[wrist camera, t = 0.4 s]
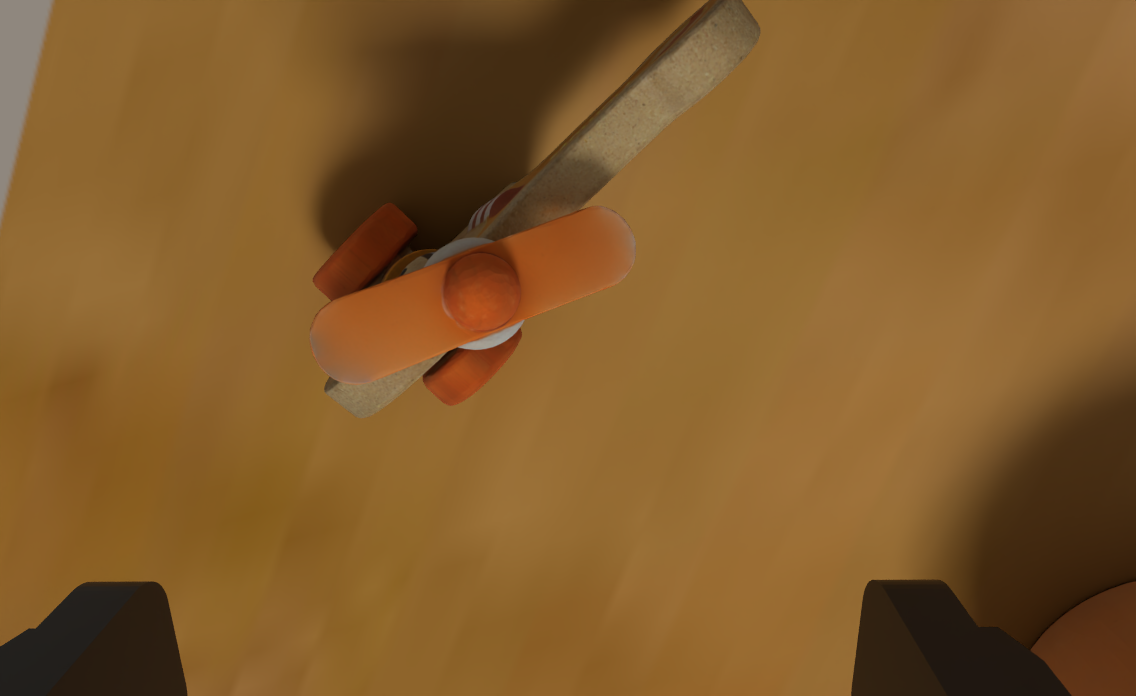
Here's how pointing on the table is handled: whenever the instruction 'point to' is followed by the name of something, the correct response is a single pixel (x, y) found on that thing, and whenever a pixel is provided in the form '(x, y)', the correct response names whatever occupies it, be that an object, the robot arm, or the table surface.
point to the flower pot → (1095, 645)
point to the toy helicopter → (508, 241)
